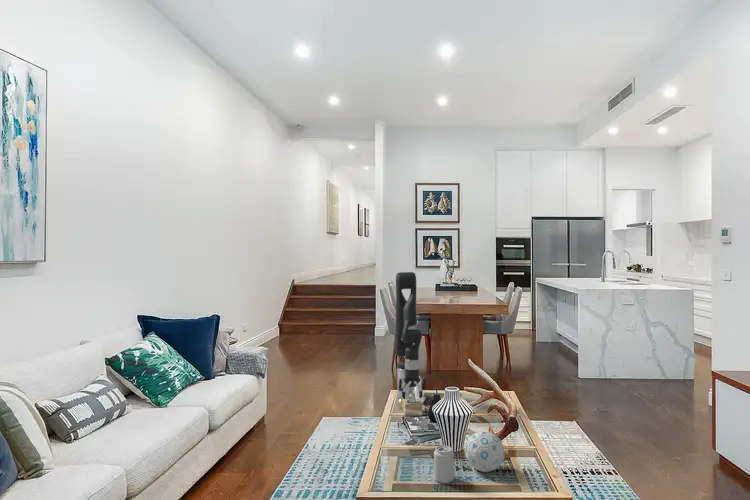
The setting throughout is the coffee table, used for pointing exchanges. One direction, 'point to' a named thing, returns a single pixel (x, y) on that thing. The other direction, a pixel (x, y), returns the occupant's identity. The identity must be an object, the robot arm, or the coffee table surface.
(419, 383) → the figurine
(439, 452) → the can
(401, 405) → the short pin
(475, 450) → the puzzle ball
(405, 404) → the hole block
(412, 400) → the long pin
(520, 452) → the coffee table surface
